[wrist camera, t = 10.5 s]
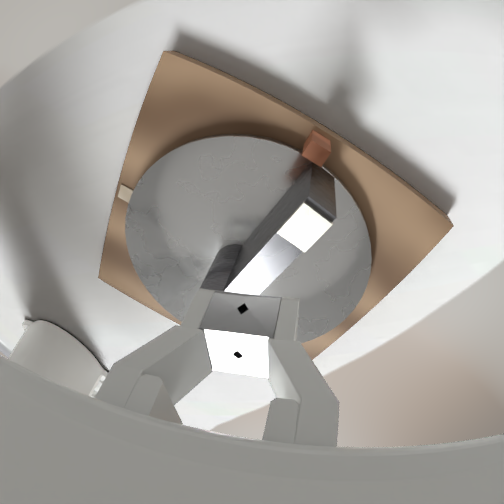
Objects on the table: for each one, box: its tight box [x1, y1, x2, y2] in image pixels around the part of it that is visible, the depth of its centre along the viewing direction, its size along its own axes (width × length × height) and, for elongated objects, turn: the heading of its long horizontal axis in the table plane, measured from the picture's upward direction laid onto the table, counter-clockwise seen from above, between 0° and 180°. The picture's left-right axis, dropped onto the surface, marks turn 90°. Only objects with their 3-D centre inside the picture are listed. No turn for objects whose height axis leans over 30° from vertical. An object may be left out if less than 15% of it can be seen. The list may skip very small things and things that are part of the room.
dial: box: [125, 134, 372, 343], centre depth 21 cm, size 19×19×6 cm
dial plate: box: [98, 51, 453, 360], centre depth 24 cm, size 22×22×4 cm
